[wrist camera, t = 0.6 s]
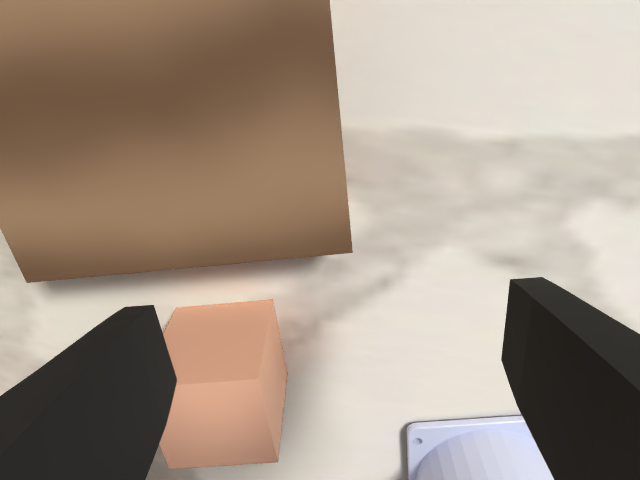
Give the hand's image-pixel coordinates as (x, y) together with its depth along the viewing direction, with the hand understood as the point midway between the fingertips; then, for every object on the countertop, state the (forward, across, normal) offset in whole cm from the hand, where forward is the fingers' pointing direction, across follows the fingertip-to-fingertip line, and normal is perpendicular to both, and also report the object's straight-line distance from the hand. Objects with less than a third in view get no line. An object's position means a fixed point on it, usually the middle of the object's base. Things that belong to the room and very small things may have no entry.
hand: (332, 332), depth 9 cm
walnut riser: (+10, +6, -4) cm, 12 cm away
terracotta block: (+10, +5, +8) cm, 14 cm away
